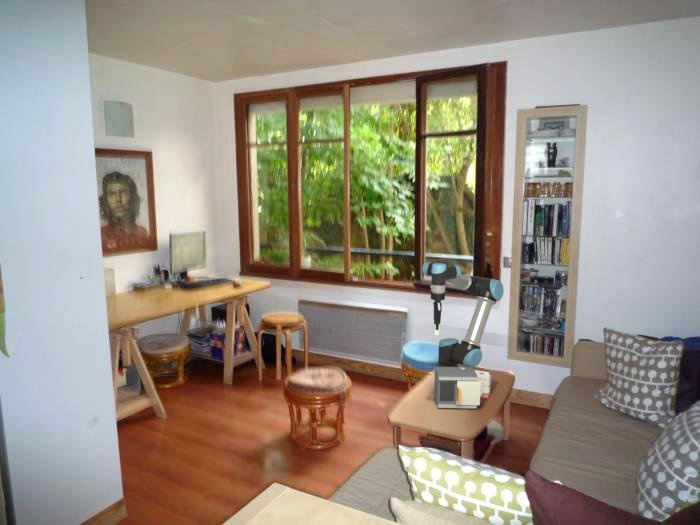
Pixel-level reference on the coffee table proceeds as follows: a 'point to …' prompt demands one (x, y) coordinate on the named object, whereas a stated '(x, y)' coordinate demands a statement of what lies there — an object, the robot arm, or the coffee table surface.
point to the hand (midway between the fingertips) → (436, 334)
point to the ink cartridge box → (484, 383)
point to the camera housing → (451, 385)
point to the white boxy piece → (468, 392)
